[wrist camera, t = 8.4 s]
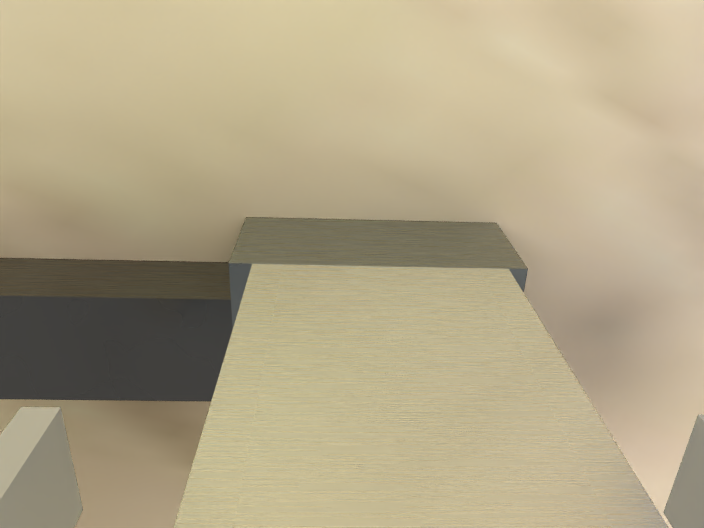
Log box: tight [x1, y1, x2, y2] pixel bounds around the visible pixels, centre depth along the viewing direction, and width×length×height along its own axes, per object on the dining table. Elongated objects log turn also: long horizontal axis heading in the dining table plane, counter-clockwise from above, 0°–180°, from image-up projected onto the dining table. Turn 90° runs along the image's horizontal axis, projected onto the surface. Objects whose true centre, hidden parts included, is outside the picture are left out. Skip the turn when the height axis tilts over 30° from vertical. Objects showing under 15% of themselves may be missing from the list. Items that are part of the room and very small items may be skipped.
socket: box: [174, 264, 668, 528], centre depth 11 cm, size 6×6×8 cm
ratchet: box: [0, 217, 528, 401], centre depth 14 cm, size 17×6×8 cm, turn 88°
